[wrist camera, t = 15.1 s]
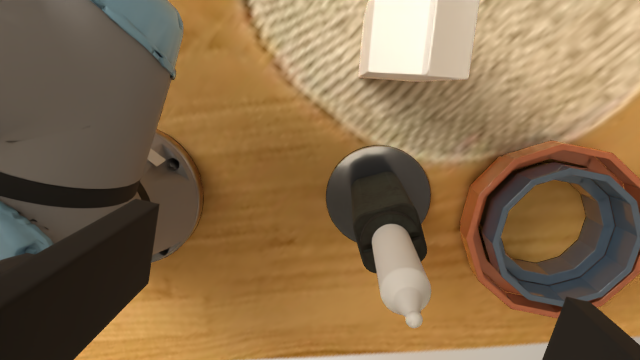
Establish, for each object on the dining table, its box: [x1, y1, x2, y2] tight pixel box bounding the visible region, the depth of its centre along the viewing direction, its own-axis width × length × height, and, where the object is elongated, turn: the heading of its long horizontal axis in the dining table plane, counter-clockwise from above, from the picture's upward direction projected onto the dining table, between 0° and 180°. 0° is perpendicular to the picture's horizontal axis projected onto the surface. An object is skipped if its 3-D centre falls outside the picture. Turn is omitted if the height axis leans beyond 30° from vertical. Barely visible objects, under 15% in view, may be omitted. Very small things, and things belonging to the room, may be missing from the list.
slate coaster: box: [326, 145, 431, 242], centre depth 46 cm, size 11×11×1 cm
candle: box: [351, 171, 431, 328], centre depth 34 cm, size 5×5×25 cm
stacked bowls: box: [460, 140, 640, 318], centre depth 43 cm, size 17×17×6 cm
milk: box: [358, 0, 480, 82], centre depth 33 cm, size 6×6×22 cm
